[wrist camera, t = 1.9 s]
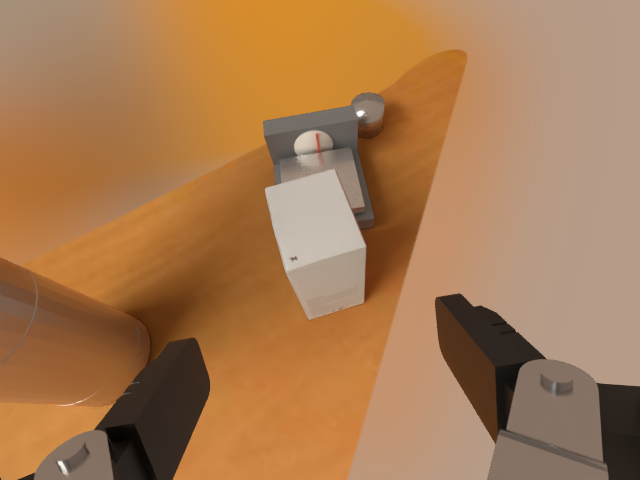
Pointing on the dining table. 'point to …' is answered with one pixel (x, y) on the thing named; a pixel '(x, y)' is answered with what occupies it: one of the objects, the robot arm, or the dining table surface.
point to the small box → (319, 242)
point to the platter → (323, 162)
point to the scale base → (318, 143)
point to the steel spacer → (369, 114)
